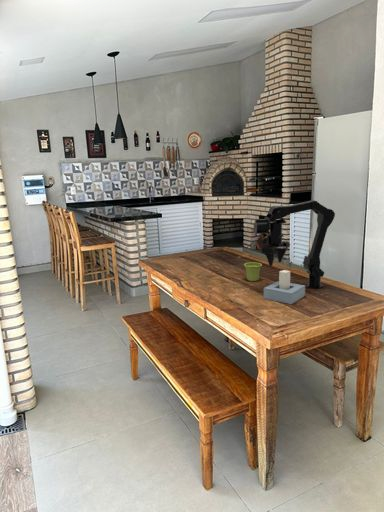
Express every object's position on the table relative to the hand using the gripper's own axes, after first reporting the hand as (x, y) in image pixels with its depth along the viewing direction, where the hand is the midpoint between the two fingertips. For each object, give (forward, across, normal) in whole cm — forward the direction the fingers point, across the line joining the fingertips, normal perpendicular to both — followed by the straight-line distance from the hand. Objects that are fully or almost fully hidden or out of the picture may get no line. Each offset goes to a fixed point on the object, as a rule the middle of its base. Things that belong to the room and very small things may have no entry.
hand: (275, 264), depth 190 cm
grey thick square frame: (+13, +8, +9) cm, 18 cm away
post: (+13, +8, +9) cm, 18 cm away
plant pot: (+13, -9, -18) cm, 24 cm away
